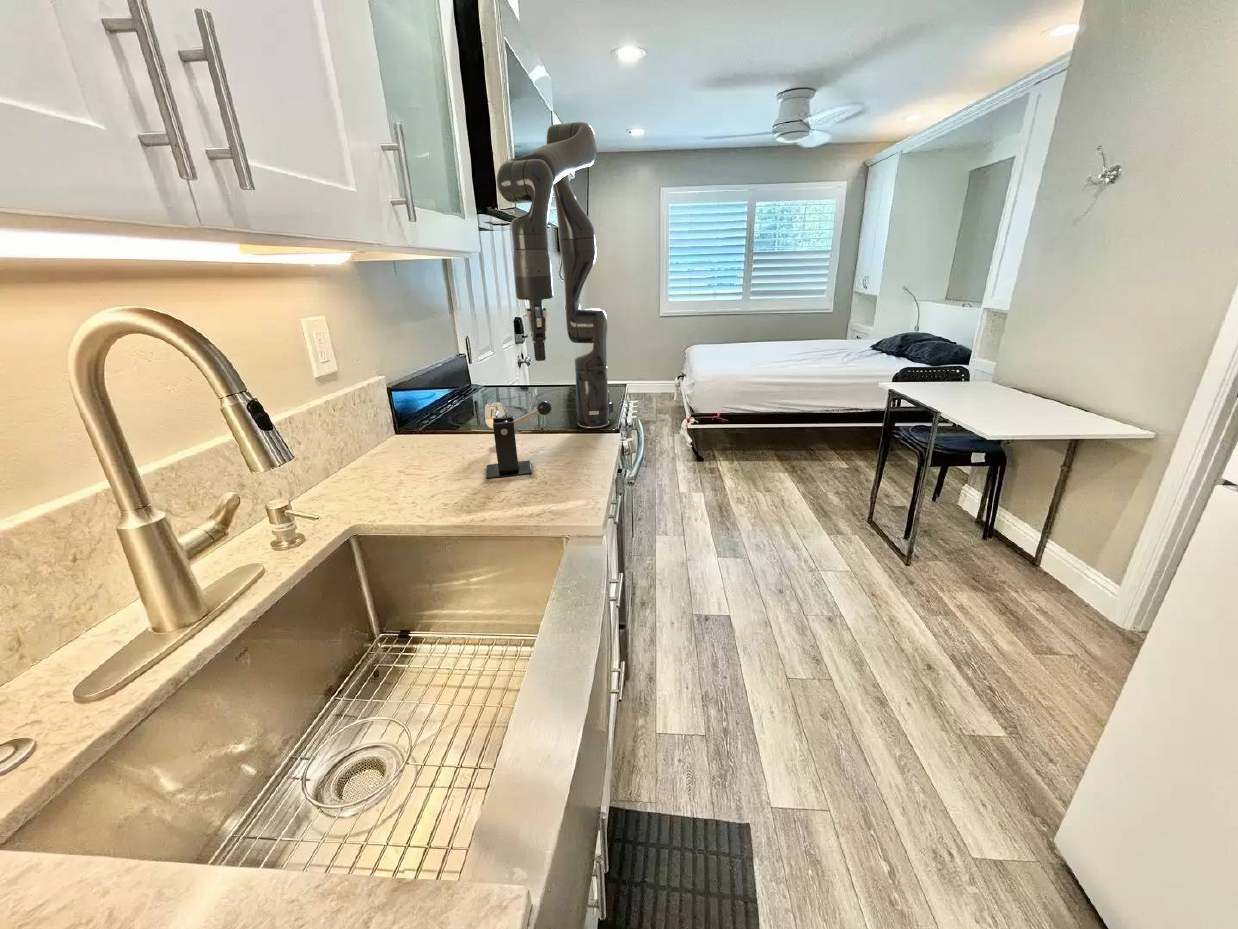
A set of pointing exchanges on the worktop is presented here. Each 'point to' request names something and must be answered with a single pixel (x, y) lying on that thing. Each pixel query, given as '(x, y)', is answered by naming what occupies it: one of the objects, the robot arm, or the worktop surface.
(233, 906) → the worktop surface
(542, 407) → the tap lever
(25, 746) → the worktop surface
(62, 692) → the worktop surface
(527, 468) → the black lever stand
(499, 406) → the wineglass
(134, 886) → the worktop surface
